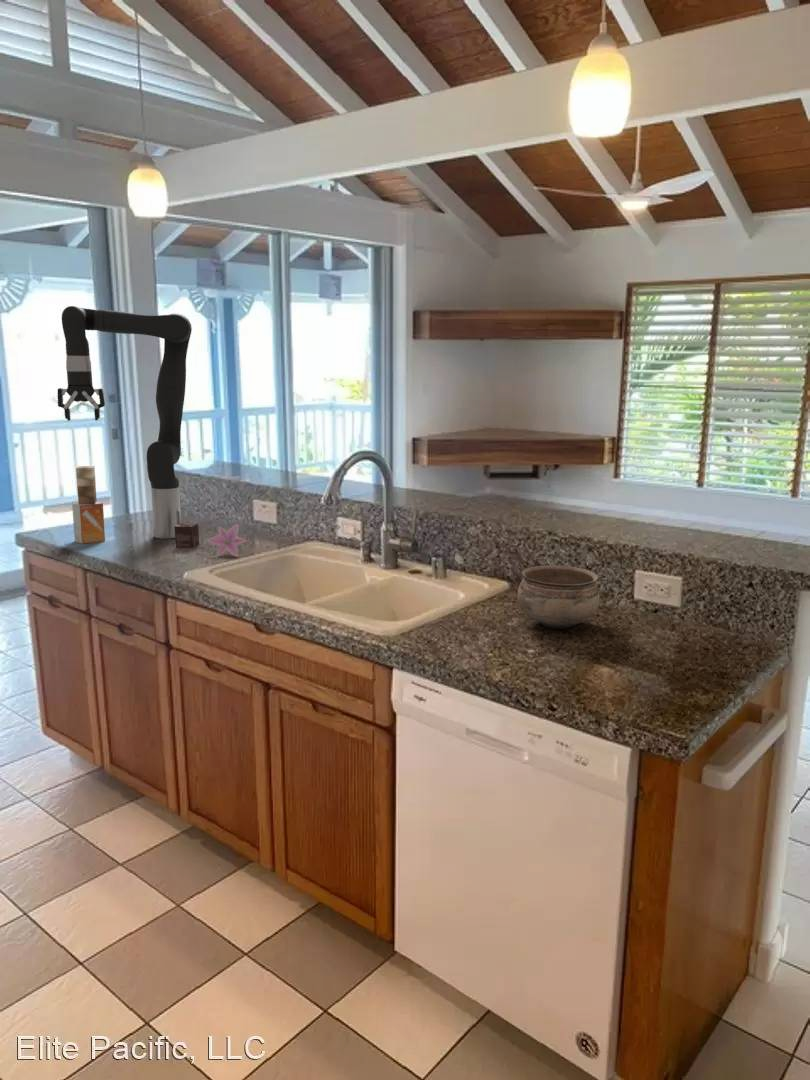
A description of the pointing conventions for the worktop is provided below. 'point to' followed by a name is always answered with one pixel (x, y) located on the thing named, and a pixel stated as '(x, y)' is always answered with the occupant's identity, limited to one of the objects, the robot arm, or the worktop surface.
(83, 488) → the walnut block
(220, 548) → the lily
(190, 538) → the box
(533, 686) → the worktop surface
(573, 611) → the cooking pot
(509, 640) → the worktop surface
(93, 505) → the small box
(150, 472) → the robot arm
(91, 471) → the maple block
